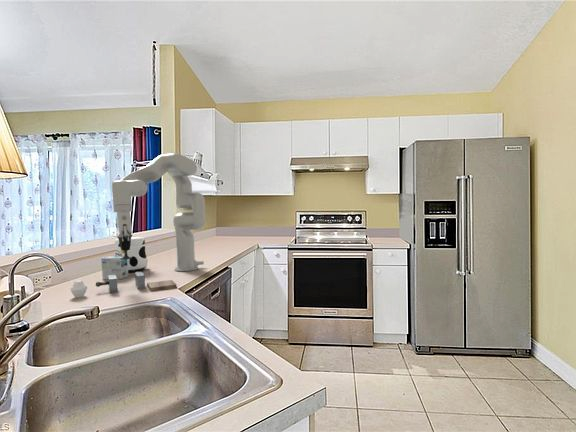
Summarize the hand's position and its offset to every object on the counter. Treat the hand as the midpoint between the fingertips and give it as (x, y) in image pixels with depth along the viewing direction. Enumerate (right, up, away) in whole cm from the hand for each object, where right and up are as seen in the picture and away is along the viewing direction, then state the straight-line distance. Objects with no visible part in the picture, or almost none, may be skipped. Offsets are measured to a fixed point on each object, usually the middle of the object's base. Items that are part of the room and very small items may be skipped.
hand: (125, 248), depth 171 cm
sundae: (0, -5, 0) cm, 5 cm away
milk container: (-15, -16, +44) cm, 49 cm away
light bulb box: (-16, -17, +26) cm, 35 cm away
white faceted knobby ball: (-14, -19, -11) cm, 26 cm away
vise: (-2, -18, -1) cm, 18 cm away
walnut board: (+16, -17, +2) cm, 23 cm away
